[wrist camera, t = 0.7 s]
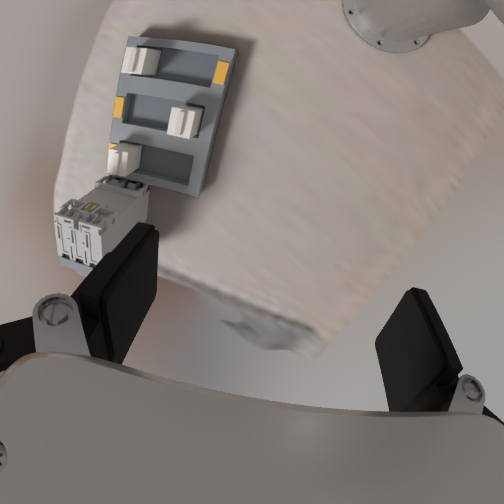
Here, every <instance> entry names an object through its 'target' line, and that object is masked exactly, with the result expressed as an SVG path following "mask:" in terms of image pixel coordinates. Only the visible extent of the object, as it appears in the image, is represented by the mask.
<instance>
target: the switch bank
mask: <svg viewBox="0 0 504 504" xmlns="http://www.w3.org/2000/svg"><path fill="white" fill-rule="evenodd" d="M126 47H135V48H148V49H154V50H159V51H161V54H160V58H159V62H158V66H157V71H156V75H140V74H130V73H121V71H120V76H119V82H118V87H117V93H116V98H115V105H114V111H113V118H112V126H111V134H110V142H109V149H110V148H112V147H114V146H116V145H118V144H120V143H123V142H130V143H135V144H140V145H142V151H141V159H140V166H139V168H138V169H136V170H135V171H133V172H132V173H130V174H129V175H127V176H126V177H124V176H119V175H115V174H111V173H107V174H109V175H113V176H117V177H121V178H126V179H130V180H134V181H138V182H142V183H146V184H149V185H153V186H157V187H161V188H165V189H169V190H173V191H176V192H180V193H184V194H188V195H191V196H195V197H198V196H199V195H200V194H201V192H202V191H203V187H204V182H205V178H206V173H207V169H208V165H209V160H210V156H211V152H212V148H213V143H214V139H215V135H216V131H217V127H218V123H219V119H220V115H221V112H222V108H223V104H224V100H225V96H226V93H227V89H228V85H229V82H230V78H231V75H232V71H233V68H234V64H235V61H236V57H237V54H238V51H237V50H235V49H232V48H226V47H221V46H216V45H210V44H203V43H197V42H189V41H182V40H173V39H162V38H150V37H131V36H129V37H128V41H127V45H126ZM125 51H126V49H125ZM124 56H125V53H124ZM123 60H124V57H123ZM122 65H123V62H122ZM121 69H122V67H121ZM183 104H185V105H190V106H195V107H200V108H204V109H205V110H204V114H203V118H202V123H201V127H200V131H199V133H198V134H197V135H195V136H193V137H192V138H190V139H187V138H182V137H178V136H173V135H168V134H167V129H168V124H169V119H170V114H171V109H172V107H174V106H178V105H183ZM108 158H109V152H108ZM107 170H108V163H107Z"/></svg>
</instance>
